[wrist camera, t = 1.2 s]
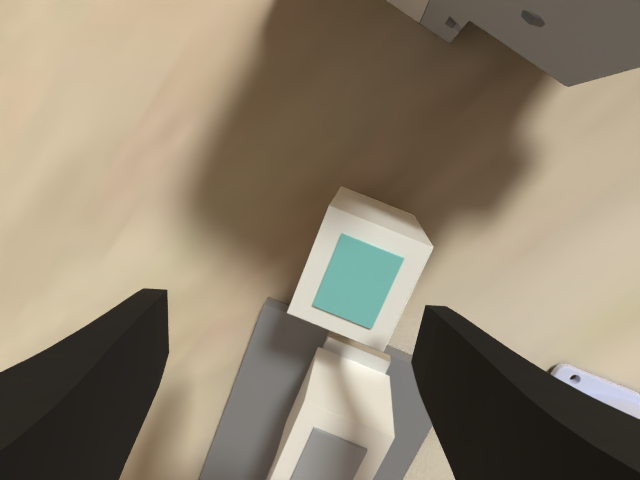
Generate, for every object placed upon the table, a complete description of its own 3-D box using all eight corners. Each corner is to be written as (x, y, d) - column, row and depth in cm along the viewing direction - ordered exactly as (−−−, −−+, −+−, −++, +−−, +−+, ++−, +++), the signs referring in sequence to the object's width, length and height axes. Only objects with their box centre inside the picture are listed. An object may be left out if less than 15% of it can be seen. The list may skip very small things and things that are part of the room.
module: (413, 214, 20) (434, 248, 14) (379, 290, 22) (383, 353, 15) (341, 185, 21) (328, 206, 14) (310, 263, 22) (286, 314, 15)
